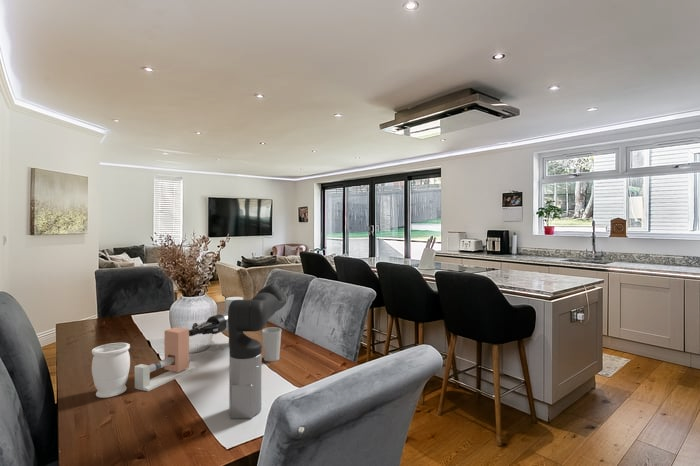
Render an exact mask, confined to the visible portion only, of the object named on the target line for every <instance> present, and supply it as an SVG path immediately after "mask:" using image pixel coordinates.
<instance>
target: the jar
mask: <svg viewBox="0 0 700 466" xmlns="http://www.w3.org/2000/svg"><path fill="white" fill-rule="evenodd" d="M130 348H131V344H130V343H128V342H114V343H106V344H102V345H99V346H96V347H94V348H93V349H92V350H91V354H92V355H93V357H92V361H91V375H92V379H93V384H94V387H95V389H96V390H97V391H96V393H95V396H96V397H97V398H100V399H101V398H102V399H104V398H113V397H116V396H119V395H121V394H123V393H124V392H126V391H127V386H126V384H127V382H128V379H129V372H130V369H131V356H130V352H129V350H130Z"/></svg>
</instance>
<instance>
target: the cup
mask: <svg viewBox="0 0 700 466" xmlns="http://www.w3.org/2000/svg"><path fill="white" fill-rule="evenodd" d="M261 333H262V334H261V336H262V337H261V338H262V346H263V348H262V349H263V360H264V361H265V362H277V361H279V360H280V352H281V341H282V338H281V337H282V328H280V327H275V326H273V327H270V326H269V327H266V328H263V329H261Z"/></svg>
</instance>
